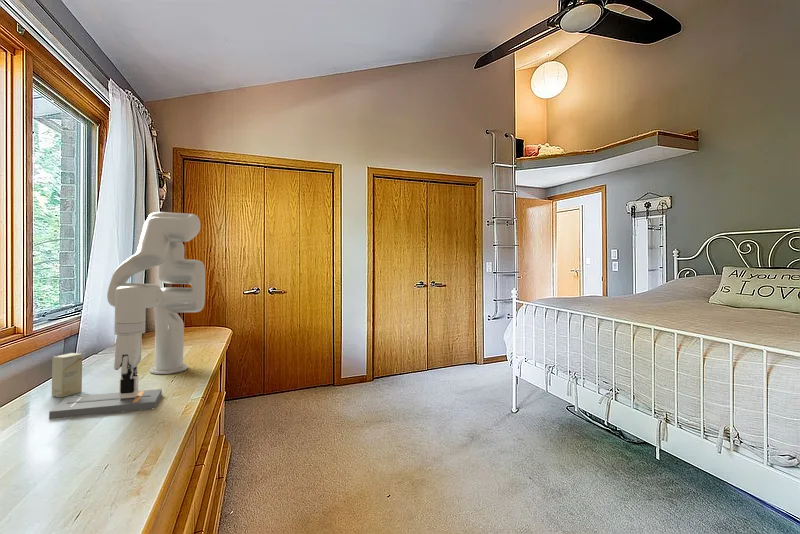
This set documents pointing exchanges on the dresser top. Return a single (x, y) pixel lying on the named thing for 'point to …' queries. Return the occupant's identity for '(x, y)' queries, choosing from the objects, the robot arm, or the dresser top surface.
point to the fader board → (104, 404)
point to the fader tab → (135, 393)
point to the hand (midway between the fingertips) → (129, 390)
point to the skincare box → (66, 374)
